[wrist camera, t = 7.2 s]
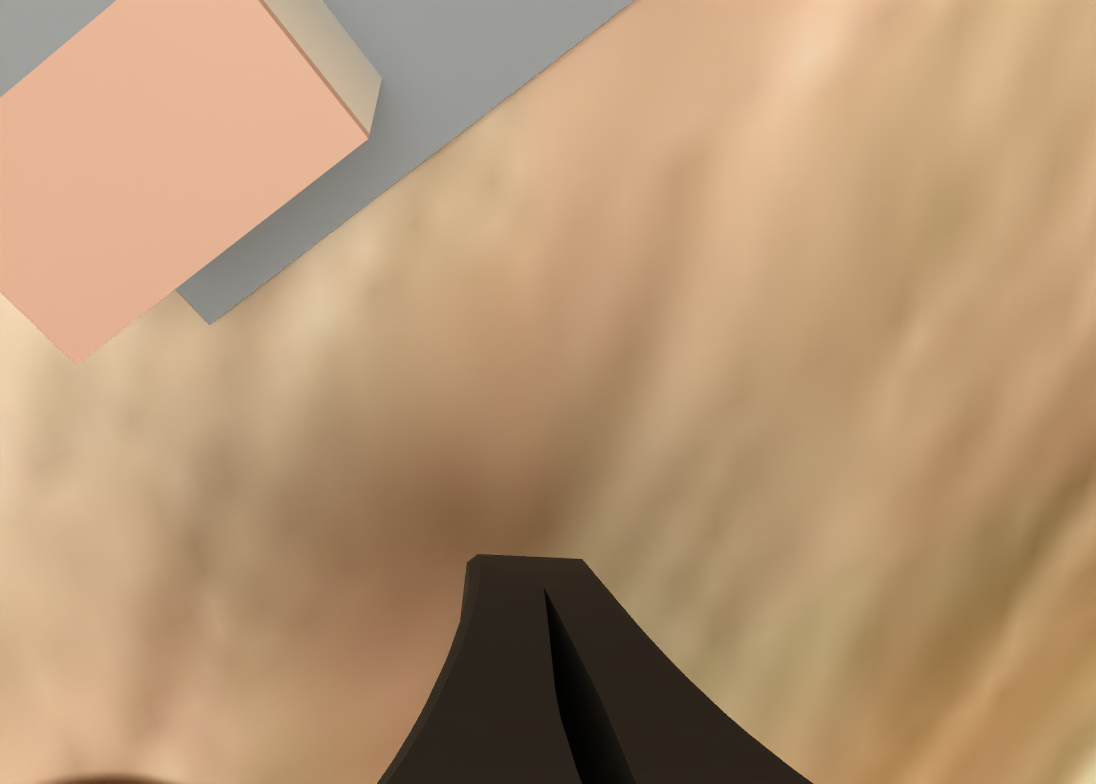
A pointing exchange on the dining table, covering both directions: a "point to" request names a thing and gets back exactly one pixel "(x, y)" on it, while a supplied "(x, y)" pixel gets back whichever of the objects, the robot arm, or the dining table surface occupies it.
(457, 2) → the mat
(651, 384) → the dining table surface
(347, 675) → the dining table surface
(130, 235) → the slab
